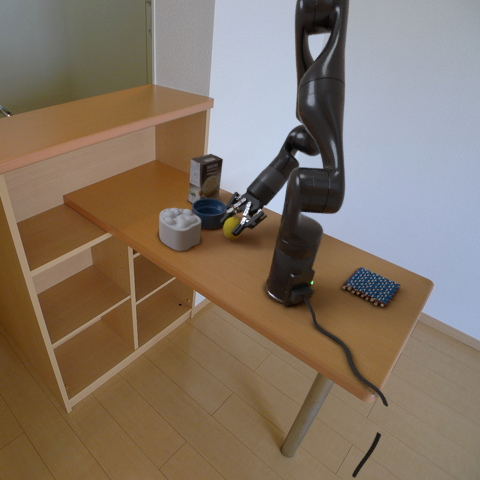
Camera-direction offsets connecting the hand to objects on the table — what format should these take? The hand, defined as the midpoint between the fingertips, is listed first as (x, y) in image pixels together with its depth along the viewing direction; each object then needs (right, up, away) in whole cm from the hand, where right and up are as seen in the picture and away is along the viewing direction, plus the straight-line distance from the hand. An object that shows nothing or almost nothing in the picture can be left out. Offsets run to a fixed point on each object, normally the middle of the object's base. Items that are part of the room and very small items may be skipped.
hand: (227, 229), depth 107 cm
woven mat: (+33, -16, -15) cm, 40 cm away
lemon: (+2, -3, +3) cm, 5 cm away
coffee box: (-4, +11, +23) cm, 26 cm away
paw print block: (-15, -3, +4) cm, 16 cm away
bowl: (-4, +3, +12) cm, 13 cm away
